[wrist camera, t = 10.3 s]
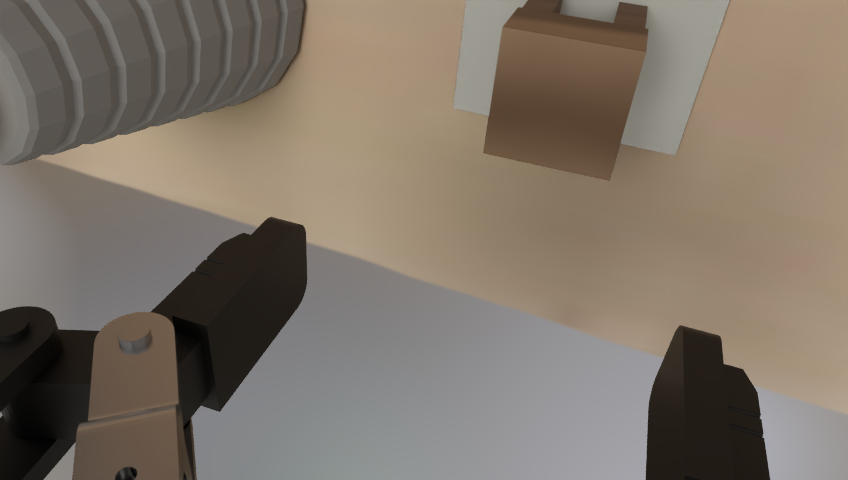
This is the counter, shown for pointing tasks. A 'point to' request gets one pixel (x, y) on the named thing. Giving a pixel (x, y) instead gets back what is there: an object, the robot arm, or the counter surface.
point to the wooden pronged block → (565, 87)
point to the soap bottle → (131, 65)
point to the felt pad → (659, 78)
